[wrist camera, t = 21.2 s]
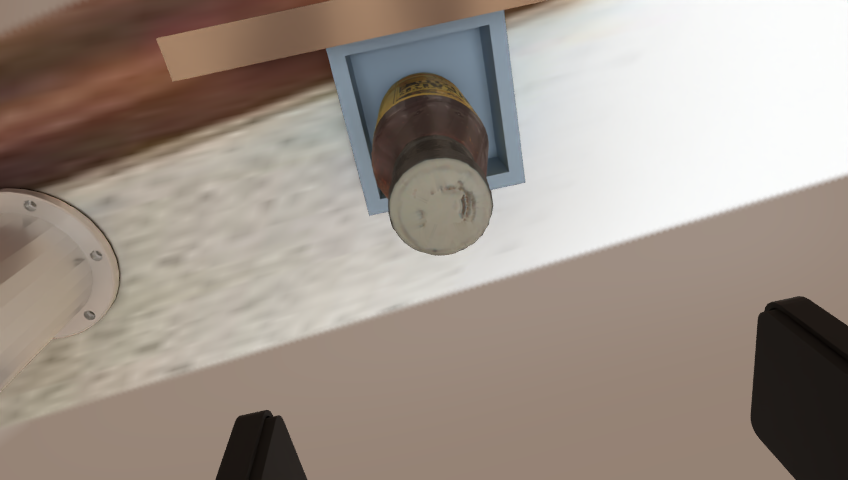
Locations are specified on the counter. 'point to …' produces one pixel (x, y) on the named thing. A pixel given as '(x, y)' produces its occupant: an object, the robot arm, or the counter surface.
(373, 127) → the caddy
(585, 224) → the counter surface
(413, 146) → the sauce bottle
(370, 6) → the back board
